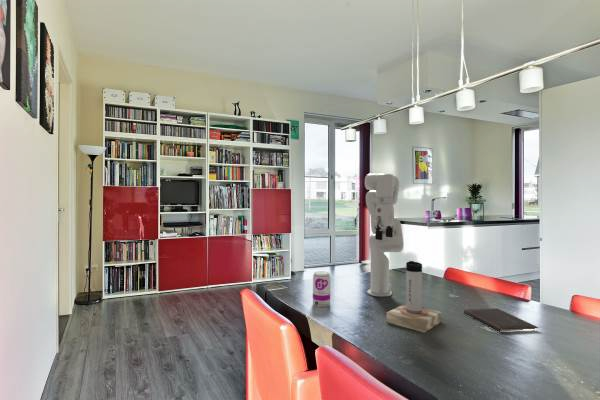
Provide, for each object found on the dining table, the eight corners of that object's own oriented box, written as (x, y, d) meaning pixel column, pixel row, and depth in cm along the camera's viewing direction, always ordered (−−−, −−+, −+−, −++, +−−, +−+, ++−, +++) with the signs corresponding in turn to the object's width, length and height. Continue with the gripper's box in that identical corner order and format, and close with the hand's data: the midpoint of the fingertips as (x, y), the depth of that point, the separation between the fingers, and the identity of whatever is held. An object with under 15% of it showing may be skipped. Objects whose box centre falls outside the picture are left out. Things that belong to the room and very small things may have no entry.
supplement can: (329, 308, 164) (329, 275, 164) (311, 306, 165) (311, 274, 165) (331, 302, 172) (331, 271, 171) (314, 301, 173) (314, 270, 173)
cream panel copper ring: (404, 312, 157) (404, 303, 157) (441, 321, 146) (441, 311, 146) (386, 322, 145) (386, 311, 145) (424, 332, 135) (424, 321, 135)
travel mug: (417, 308, 150) (418, 260, 150) (424, 313, 143) (424, 263, 143) (403, 308, 149) (403, 261, 149) (409, 314, 143) (409, 263, 143)
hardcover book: (497, 313, 159) (497, 308, 159) (538, 333, 136) (538, 327, 136) (463, 314, 157) (463, 309, 157) (499, 335, 134) (499, 328, 134)
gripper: (383, 202, 154) (382, 241, 155) (400, 200, 167) (400, 237, 168) (367, 201, 159) (367, 239, 160) (386, 200, 172) (385, 235, 173)
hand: (384, 238), depth 164 cm, fingers open, 9 cm apart
